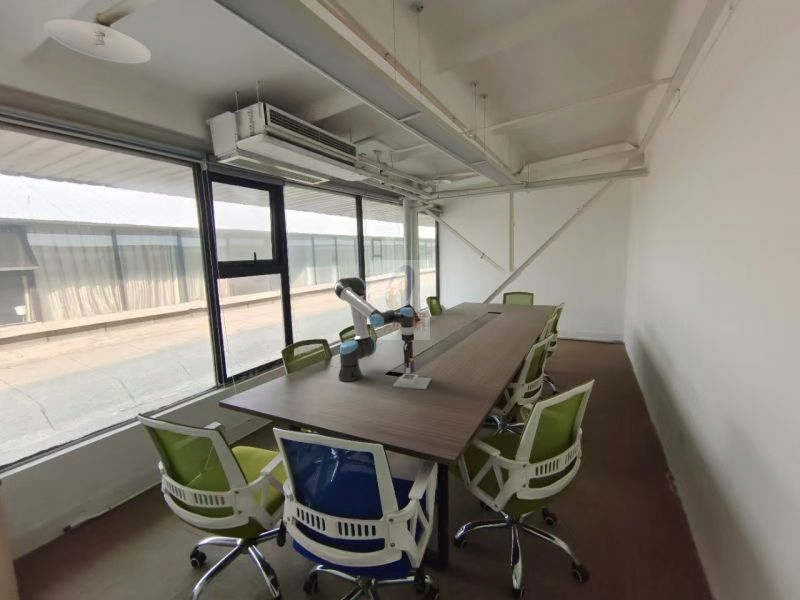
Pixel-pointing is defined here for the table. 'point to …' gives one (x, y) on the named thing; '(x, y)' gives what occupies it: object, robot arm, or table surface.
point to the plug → (410, 365)
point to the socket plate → (412, 381)
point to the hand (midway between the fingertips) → (409, 371)
